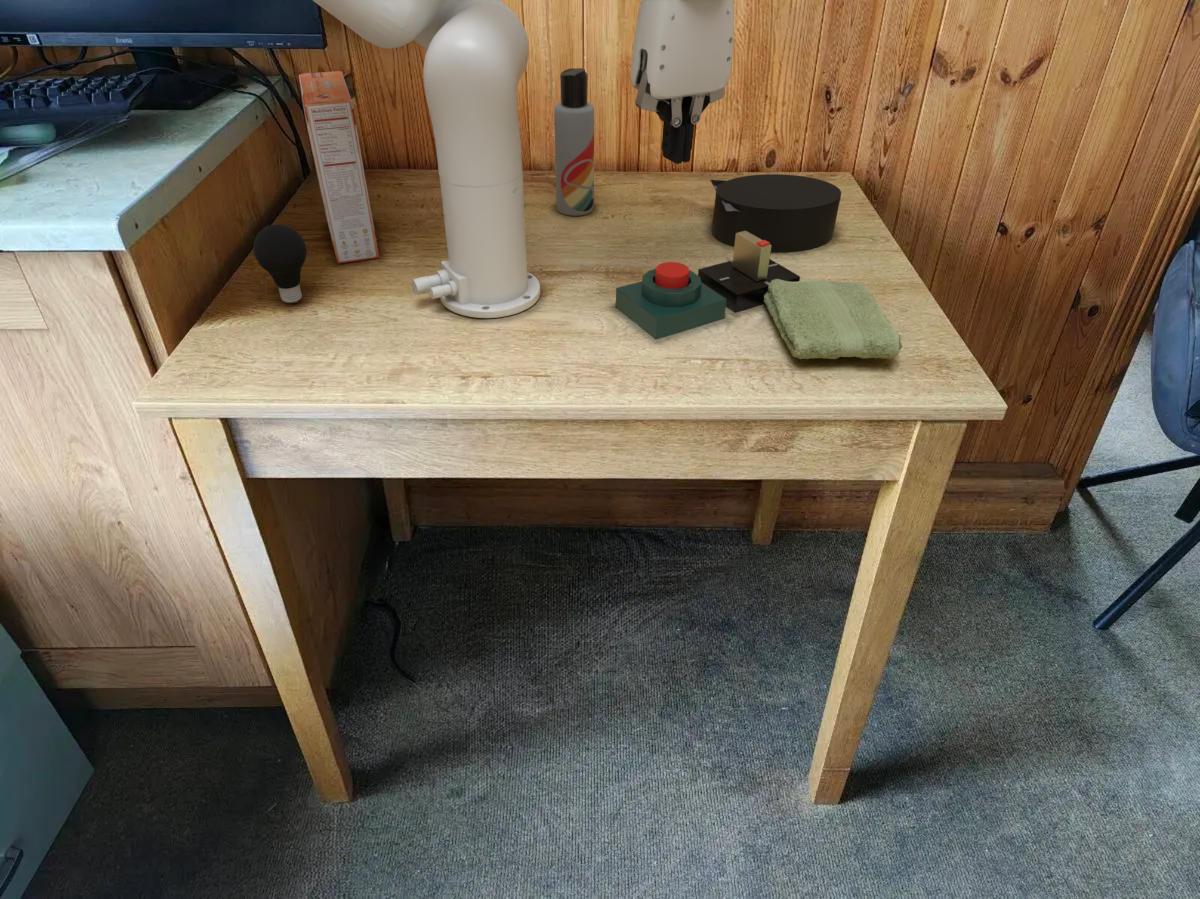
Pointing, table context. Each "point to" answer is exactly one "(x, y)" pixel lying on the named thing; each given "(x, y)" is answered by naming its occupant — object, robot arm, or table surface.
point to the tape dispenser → (776, 210)
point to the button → (672, 275)
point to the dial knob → (751, 255)
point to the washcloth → (830, 320)
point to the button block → (669, 305)
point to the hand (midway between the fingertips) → (676, 158)
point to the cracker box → (339, 165)
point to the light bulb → (282, 258)
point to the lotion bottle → (574, 145)
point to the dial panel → (742, 284)
